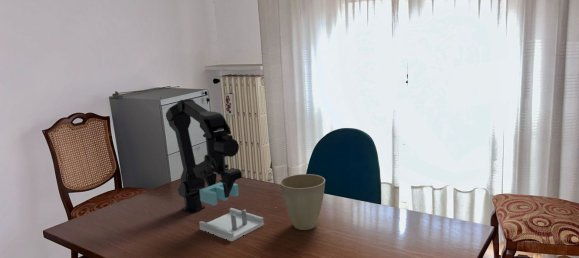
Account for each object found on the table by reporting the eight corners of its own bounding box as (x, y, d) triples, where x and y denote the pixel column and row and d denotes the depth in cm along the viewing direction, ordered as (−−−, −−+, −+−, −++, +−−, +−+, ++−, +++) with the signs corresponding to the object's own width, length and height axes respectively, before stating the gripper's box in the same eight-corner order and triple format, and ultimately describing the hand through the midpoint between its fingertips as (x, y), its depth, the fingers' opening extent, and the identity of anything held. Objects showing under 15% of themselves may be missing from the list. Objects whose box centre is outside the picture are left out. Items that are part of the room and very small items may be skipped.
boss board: (200, 229, 155) (198, 212, 154) (232, 214, 166) (230, 198, 165) (231, 241, 145) (230, 223, 143) (263, 225, 156) (262, 208, 154)
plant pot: (336, 225, 152) (334, 180, 149) (301, 239, 143) (299, 192, 140) (307, 212, 164) (305, 170, 160) (274, 225, 155) (271, 180, 152)
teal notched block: (200, 201, 154) (199, 189, 153) (225, 191, 162) (224, 180, 161) (213, 205, 149) (212, 194, 148) (239, 195, 157) (238, 184, 156)
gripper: (179, 153, 152) (184, 196, 156) (214, 161, 140) (219, 208, 143) (205, 145, 160) (209, 187, 164) (241, 152, 148) (245, 198, 151)
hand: (219, 195), depth 155 cm, fingers closed on teal notched block, 7 cm apart
